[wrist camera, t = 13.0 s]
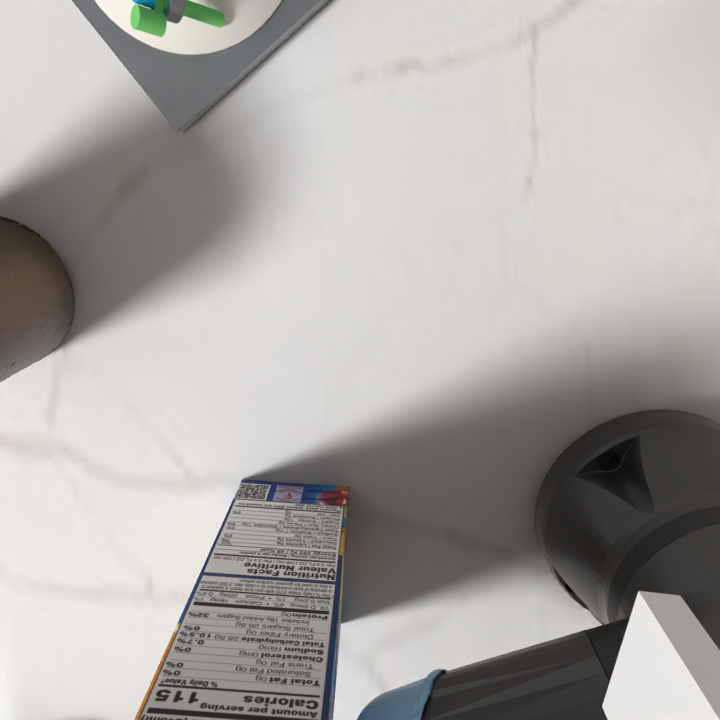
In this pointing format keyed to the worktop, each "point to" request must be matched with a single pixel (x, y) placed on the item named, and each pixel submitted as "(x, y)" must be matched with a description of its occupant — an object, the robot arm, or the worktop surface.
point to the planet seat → (198, 25)
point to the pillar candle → (30, 298)
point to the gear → (170, 14)
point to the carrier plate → (196, 60)
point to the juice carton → (261, 613)
